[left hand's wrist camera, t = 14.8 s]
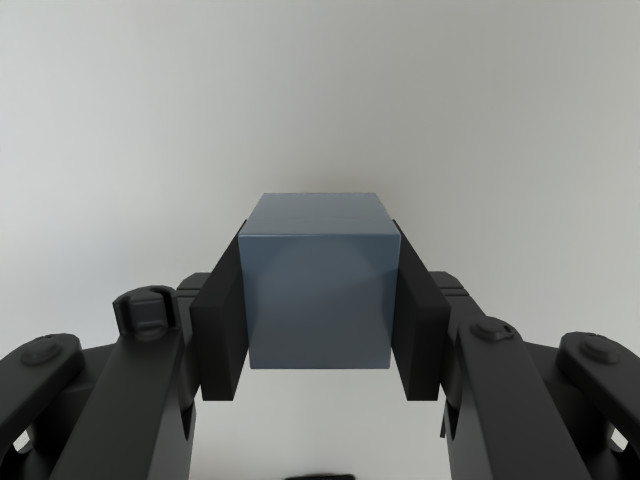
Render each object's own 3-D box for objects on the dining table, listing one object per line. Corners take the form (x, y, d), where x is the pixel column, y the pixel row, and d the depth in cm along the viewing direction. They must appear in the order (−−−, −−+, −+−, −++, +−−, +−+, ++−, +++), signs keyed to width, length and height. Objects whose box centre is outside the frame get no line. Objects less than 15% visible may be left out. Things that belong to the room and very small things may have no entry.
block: (269, 294, 15) (249, 369, 11) (263, 192, 14) (237, 234, 9) (370, 294, 15) (390, 369, 11) (375, 192, 14) (401, 234, 9)
